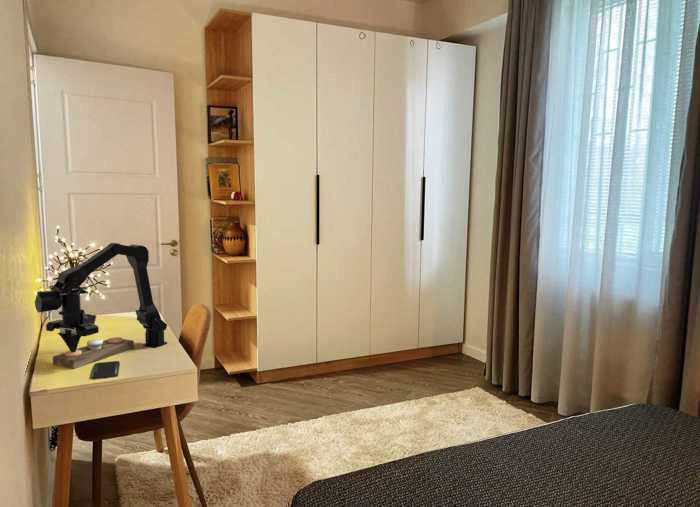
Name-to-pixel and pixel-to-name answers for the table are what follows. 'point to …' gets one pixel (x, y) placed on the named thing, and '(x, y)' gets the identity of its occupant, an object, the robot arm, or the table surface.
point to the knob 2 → (115, 340)
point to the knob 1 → (71, 354)
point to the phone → (105, 370)
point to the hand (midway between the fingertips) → (73, 352)
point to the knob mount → (92, 354)
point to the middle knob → (95, 344)
